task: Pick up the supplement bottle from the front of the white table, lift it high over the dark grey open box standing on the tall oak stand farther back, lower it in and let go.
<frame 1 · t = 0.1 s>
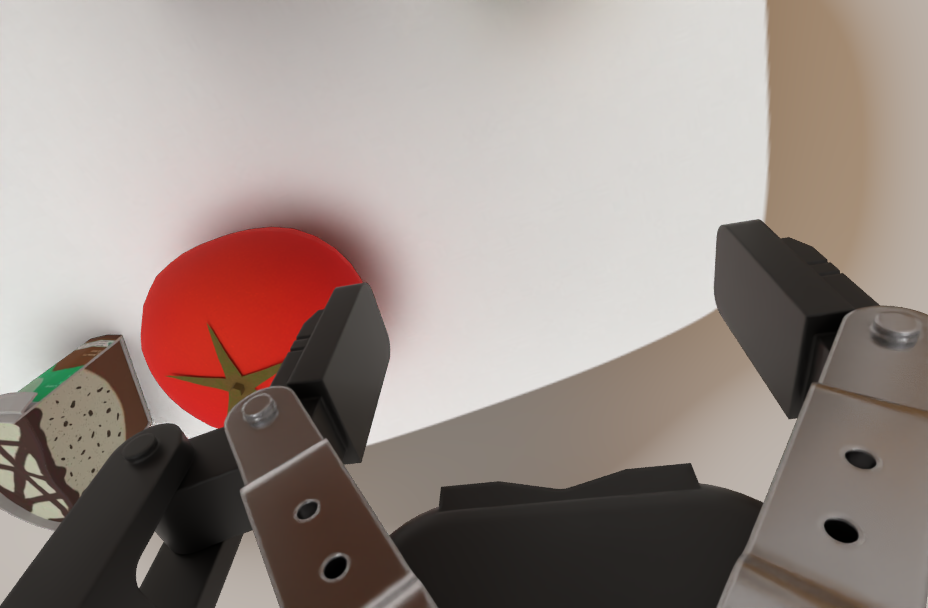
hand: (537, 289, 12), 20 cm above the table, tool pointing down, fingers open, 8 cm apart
food container: (102, 375, 42), on the table
tomato: (294, 288, 36), on the table
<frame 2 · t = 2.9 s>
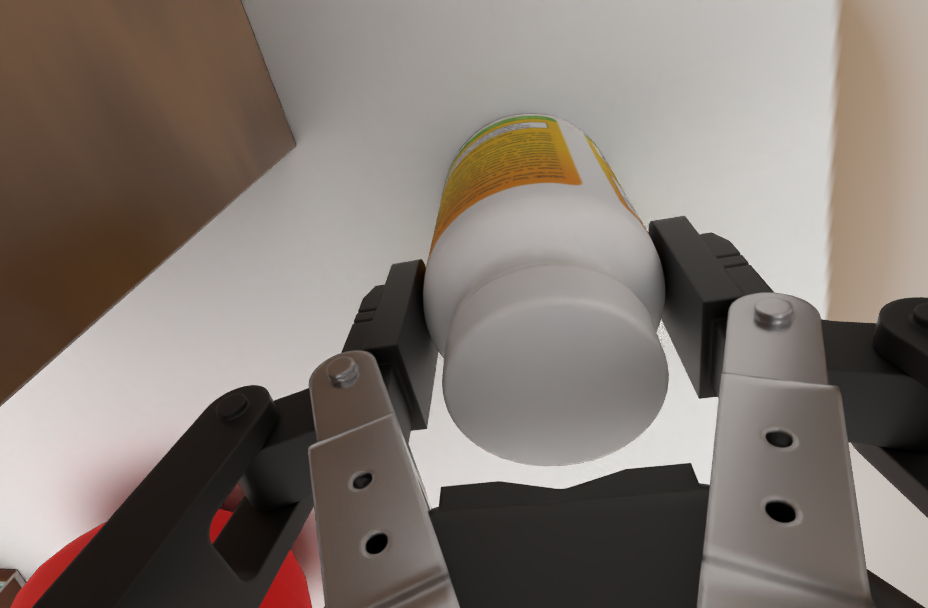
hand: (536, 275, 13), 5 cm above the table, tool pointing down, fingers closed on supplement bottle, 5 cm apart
supplement bottle: (525, 191, 17), on the table, touching gripper
food container: (1, 600, 35), on the table
tomato: (220, 535, 29), on the table
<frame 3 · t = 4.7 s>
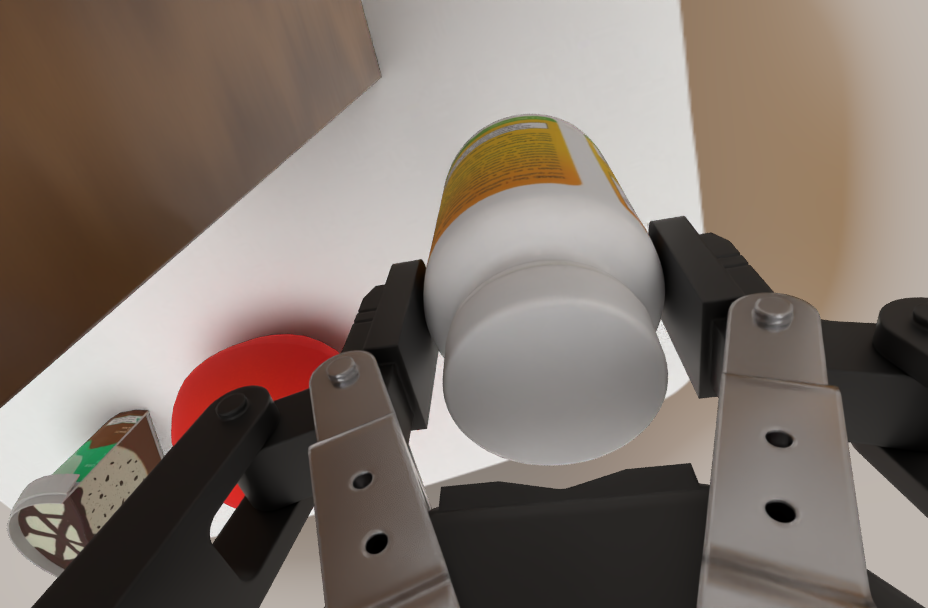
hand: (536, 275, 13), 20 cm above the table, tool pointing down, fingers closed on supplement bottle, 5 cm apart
supplement bottle: (525, 192, 17), point 14 cm above the table, touching gripper
food container: (128, 442, 47), on the table
tomato: (301, 374, 41), on the table
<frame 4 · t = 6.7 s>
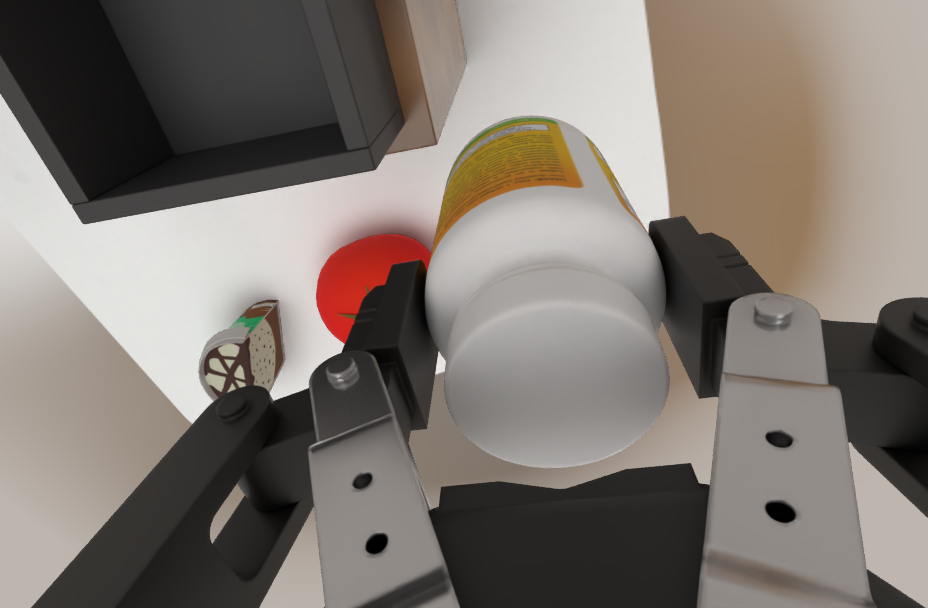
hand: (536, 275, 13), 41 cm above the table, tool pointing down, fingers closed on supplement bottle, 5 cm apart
supplement bottle: (526, 193, 17), point 35 cm above the table, touching gripper
food container: (258, 327, 65), on the table
dark grey open box: (235, 8, 21), resting on stand
tomato: (391, 271, 60), on the table
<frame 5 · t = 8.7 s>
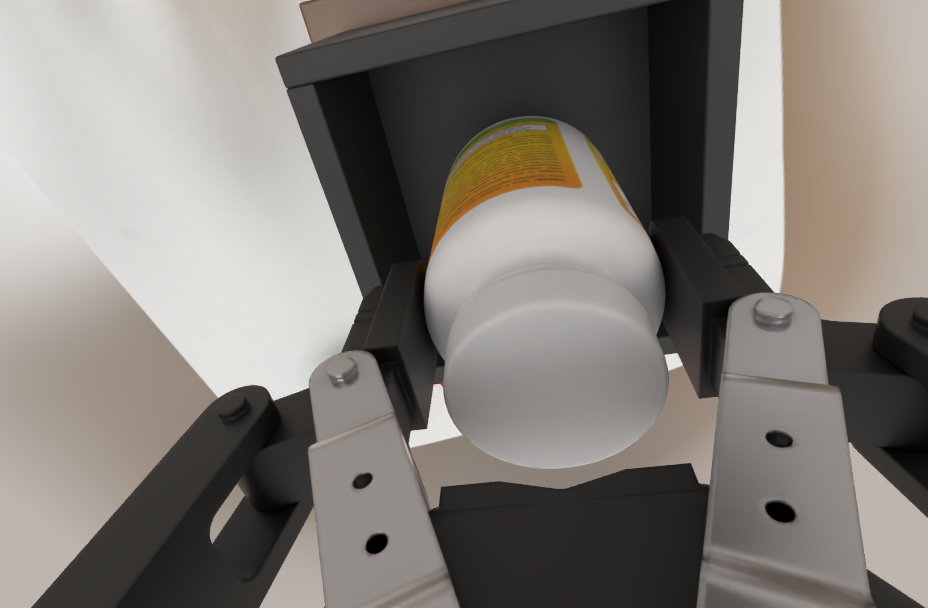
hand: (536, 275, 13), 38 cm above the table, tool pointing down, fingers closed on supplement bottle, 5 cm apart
stand: (506, 60, 45), on the table
supplement bottle: (525, 193, 17), point 32 cm above the table, touching gripper
dark grey open box: (519, 155, 21), resting on stand
when the fingers open (34 cm above the table, at t = 10.4 s): supplement bottle stays where it is, resting on dark grey open box.
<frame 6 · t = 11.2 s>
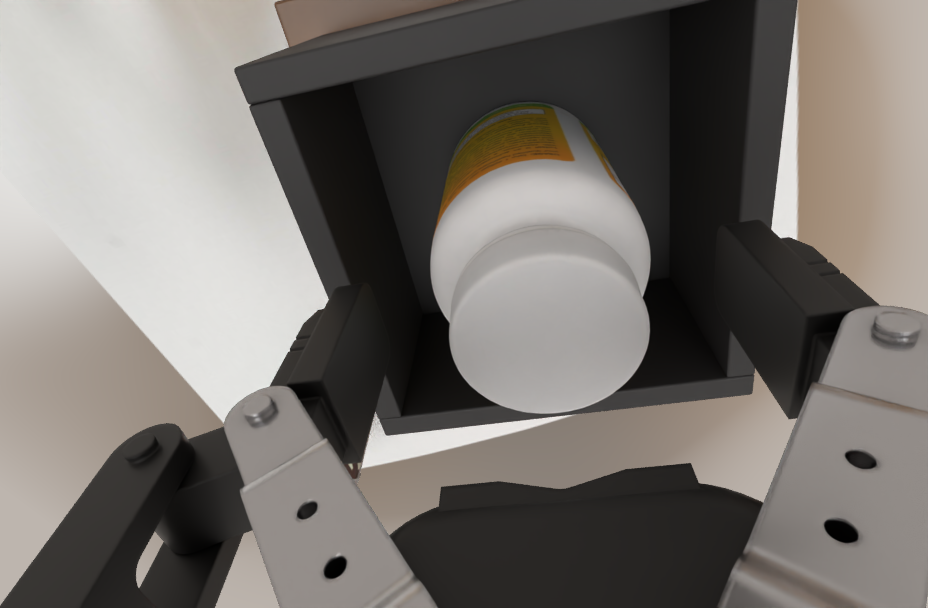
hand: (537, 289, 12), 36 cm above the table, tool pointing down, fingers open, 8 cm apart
stand: (507, 60, 42), on the table
supplement bottle: (524, 176, 18), point 29 cm above the table, touching dark grey open box
dark grey open box: (522, 171, 19), resting on stand
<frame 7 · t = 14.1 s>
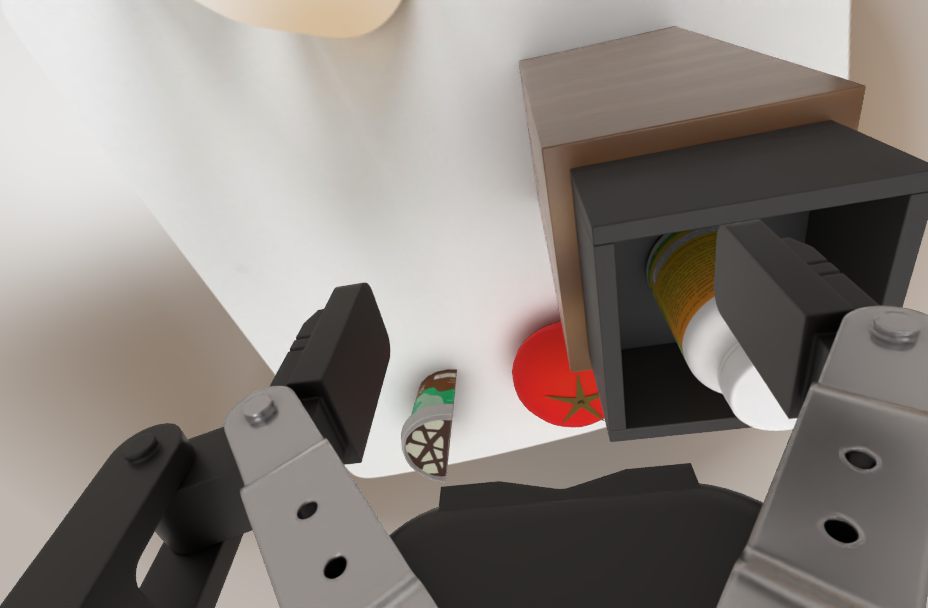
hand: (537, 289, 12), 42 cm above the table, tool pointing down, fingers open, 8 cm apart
stand: (600, 122, 50), on the table
supplement bottle: (697, 259, 26), point 29 cm above the table, touching dark grey open box
food container: (432, 392, 71), on the table
dark grey open box: (692, 254, 27), resting on stand
tomato: (567, 345, 66), on the table
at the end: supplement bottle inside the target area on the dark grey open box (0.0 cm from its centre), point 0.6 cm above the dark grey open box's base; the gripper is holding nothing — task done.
